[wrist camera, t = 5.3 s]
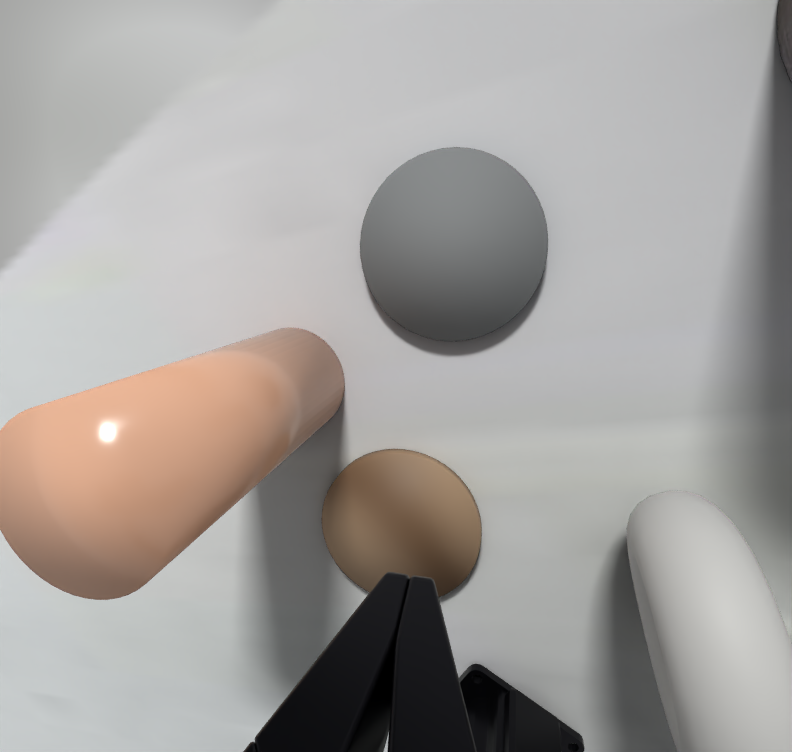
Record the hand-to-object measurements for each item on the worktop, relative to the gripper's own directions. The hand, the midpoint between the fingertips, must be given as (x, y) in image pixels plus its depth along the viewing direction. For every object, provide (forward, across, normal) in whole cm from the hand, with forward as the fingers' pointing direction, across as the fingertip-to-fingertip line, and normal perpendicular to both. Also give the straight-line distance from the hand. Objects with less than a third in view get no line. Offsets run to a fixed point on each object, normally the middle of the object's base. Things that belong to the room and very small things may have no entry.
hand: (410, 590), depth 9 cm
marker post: (+14, +8, +4) cm, 17 cm away
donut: (+12, -9, +10) cm, 18 cm away
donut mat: (+12, +2, +11) cm, 16 cm away
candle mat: (+16, +1, -2) cm, 16 cm away
